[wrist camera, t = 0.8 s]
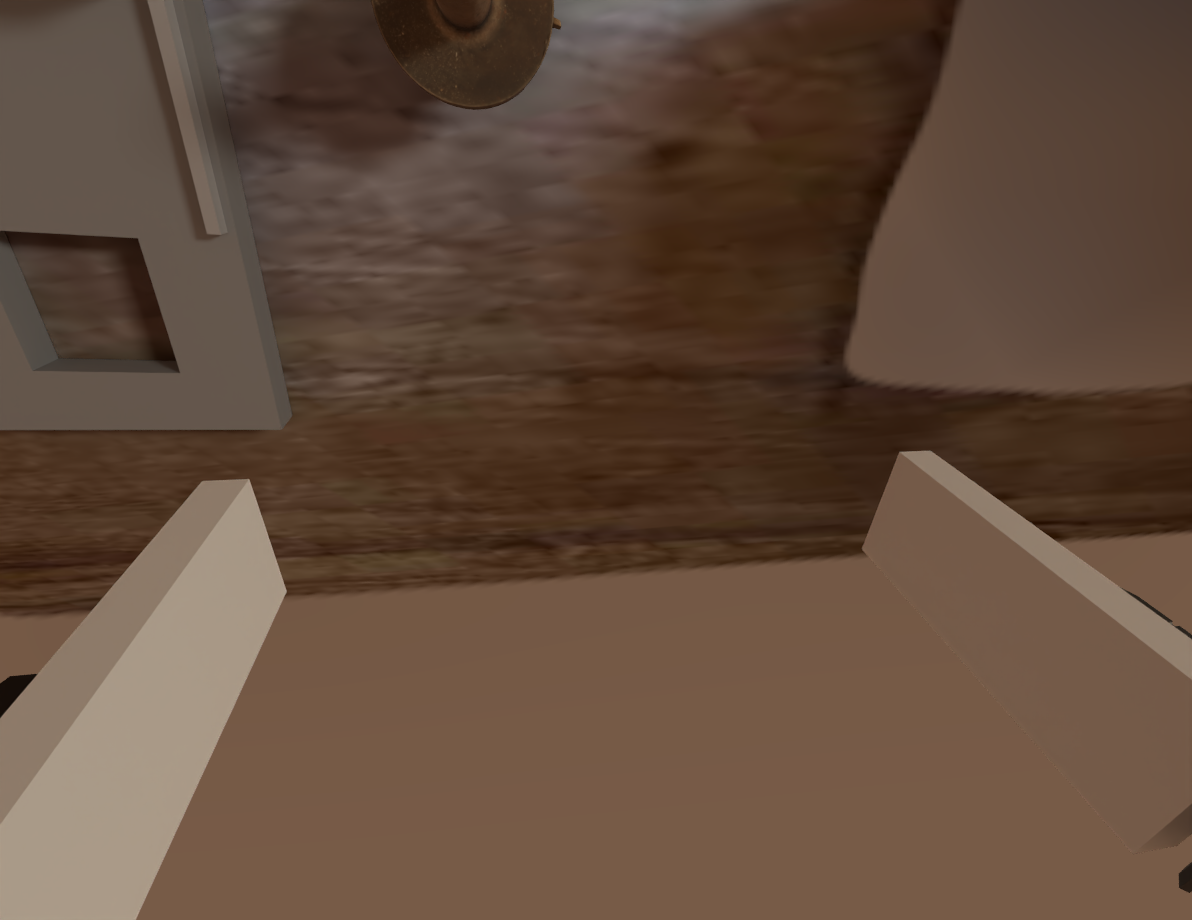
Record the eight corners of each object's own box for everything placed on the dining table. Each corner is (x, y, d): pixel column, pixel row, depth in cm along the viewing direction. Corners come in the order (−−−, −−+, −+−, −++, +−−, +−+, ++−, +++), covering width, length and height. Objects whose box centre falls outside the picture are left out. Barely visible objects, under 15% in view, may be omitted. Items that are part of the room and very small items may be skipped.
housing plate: (-319, -189, 19) (-433, -238, 17) (179, -110, 22) (141, -141, 20) (-8, 414, 31) (-50, 436, 29) (292, 415, 34) (277, 435, 32)
